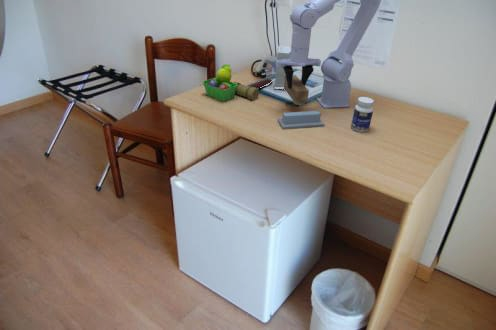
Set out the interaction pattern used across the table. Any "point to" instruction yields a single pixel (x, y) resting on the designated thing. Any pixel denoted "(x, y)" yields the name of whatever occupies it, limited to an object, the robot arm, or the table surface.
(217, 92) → the fruit basket
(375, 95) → the table surface
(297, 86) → the walnut bar
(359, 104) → the pill bottle
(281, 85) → the skincare box
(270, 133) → the table surface
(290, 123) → the fulcrum
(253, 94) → the gavel
